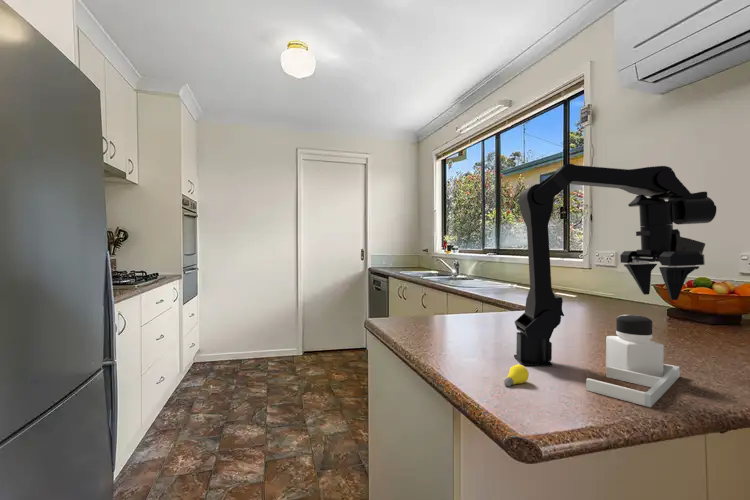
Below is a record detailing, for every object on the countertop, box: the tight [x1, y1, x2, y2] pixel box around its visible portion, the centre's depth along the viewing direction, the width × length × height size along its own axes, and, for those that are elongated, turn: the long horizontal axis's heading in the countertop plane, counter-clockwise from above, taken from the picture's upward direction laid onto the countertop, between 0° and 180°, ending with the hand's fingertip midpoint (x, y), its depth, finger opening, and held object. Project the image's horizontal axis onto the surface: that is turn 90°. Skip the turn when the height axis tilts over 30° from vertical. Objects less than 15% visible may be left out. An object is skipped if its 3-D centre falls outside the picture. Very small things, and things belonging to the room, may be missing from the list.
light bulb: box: [503, 363, 530, 387], centre depth 70 cm, size 3×6×4 cm, turn 124°
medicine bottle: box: [605, 314, 665, 378], centre depth 76 cm, size 7×7×12 cm
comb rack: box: [585, 363, 681, 408], centre depth 71 cm, size 22×10×2 cm, turn 131°
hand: (659, 297), depth 81 cm, fingers open, 9 cm apart
